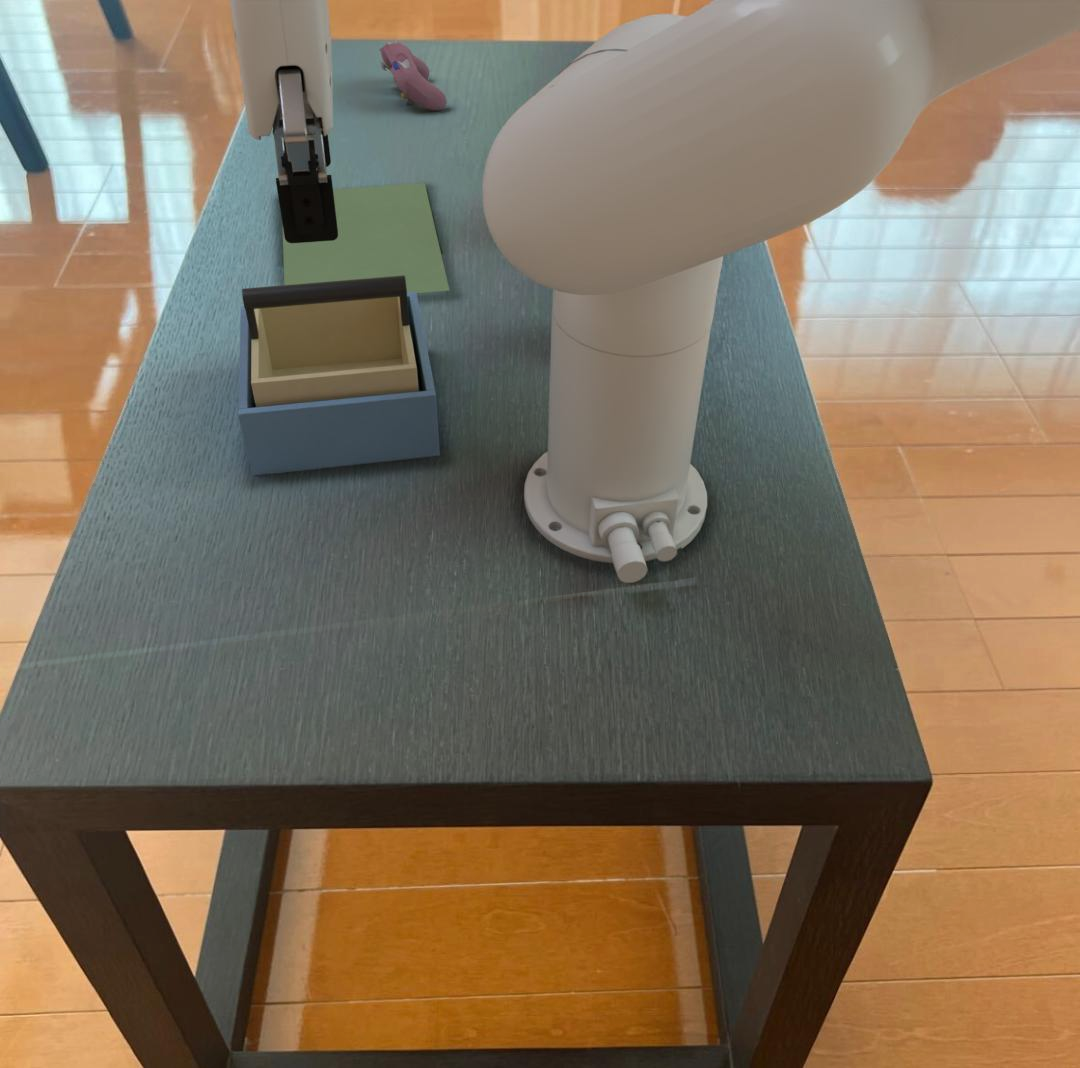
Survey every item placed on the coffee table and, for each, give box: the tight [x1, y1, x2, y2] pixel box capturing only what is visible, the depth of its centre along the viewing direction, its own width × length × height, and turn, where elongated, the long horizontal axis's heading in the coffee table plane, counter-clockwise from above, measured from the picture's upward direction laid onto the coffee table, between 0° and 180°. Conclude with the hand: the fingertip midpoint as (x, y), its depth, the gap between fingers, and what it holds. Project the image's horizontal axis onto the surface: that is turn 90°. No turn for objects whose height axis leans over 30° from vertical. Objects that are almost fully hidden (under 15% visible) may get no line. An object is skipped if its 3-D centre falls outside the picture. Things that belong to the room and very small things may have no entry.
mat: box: [281, 182, 451, 295], centre depth 99 cm, size 20×14×1 cm
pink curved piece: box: [379, 38, 448, 112], centre depth 120 cm, size 10×5×7 cm, turn 17°
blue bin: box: [237, 292, 441, 476], centre depth 79 cm, size 13×13×6 cm
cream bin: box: [241, 276, 419, 407], centre depth 77 cm, size 11×11×11 cm
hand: (309, 201), depth 69 cm, fingers open, 9 cm apart
